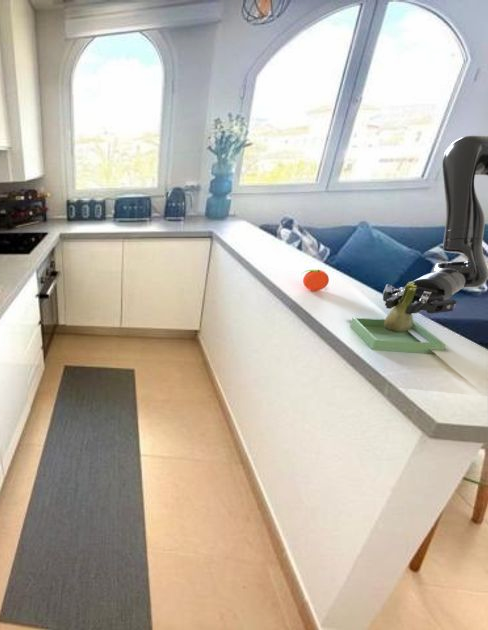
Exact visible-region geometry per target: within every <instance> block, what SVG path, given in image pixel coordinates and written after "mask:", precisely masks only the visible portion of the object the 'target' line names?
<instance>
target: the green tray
mask: <svg viewBox="0 0 488 630" xmlns="http://www.w3.org/2000/svg"><path fill="white" fill-rule="evenodd" d="M385 319H386V318H373V317H371V318H370V317H355V316H353V317H352V319H351V320H350V323H349V327H350V328H351V329H352V330H353V331H354V332H355V334H357V336H358V337H359V338H361V340H362V341H363V342H364V343H365V344H366V345H367V346H368V348H370V349H371V350H373V351H387V352H399V353H400V352H402V353H415V354H427V353H428V354H427V355H436V353H435V351H433V350H439V351H444V350H445V347H446V346H447V344H446V343H444V342H443V341H442V340H440V339H439V338H438V337H436V336H435V335H434V334H433V333H431V332H430V331H429V330H428V329H425V328H424V327H423V326H421V325H420V324H419V323H418V322H417V321H415V320H413V325H412V327H411V329H413V330H414V331H416V333H419V334H420V335H421V337H423V338H425V339H426V340H427V341H428V342H427V341H425V342H423V341H421V340H420V339H418V338H417V337H416V336H414V335H413V334H412V333H411V332H410V331H407V332H401V333H395V332H392V331H389V330H387V329H386V328H385V327H384V323H385Z"/></svg>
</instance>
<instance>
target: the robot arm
mask: <svg viewBox="0 0 488 630" xmlns="http://www.w3.org/2000/svg"><path fill="white" fill-rule="evenodd" d="M442 157H443V158H442V176H443V189H444V198H445V207H446V208H445V211H446V212H445V213H446V214H445V227H444V234H443V241H442V242H443V243H442V250H443V251H444V252H446V253H448V254H459V255H460V254H461V255H464V256H465V257H466V260H465V261H464V260H463V261H461V260H460V261H443V262H438V263H435V264H434V265H433V266H432V268H431V270H430V273H426V274H424V275H422V276H420V277H418V278H416V279H415V280H411V282H413V283H415V284H414V285H416V286H417V288H416V292H415V295H414V298H413V300H412V303H411V305H409V307H408V310H407V312H406V314H412V315H413V314H417V313H419V312H423V311H426V313H427V314H440V313H447V312H453V311H454V309H455V308H456V305H457V303H458V300H456V299H451V298H452V297H453V296H454V295H455V294H456V293H457V292H459V291H460V290H462V289H463V288H479V287H481V286H483V285H484V284H485V283H486V282H487V281H488V265H487V262H486V259H485V254H484V249H483V240H484V233H485V227H486V225H485V224H486V218H485V217H486V216H485V214H484V213H485V212H484V210H483V207H482V204H481V203H480V200H479V199H478V198H479V197H478V195H477V193H476V188H475V187H476V186H475V178H476V177H475V176H487V177H488V135H467V136H463V137H460V138H458V139H456V140H455V141H453V142H452V143H451V144H450V145H449V146H448V147H447V149H446V150H445V152H444V155H443V156H442ZM404 290H405V286H401V287H398V288H395V286H393V285H392V284H385V286H384V288H383V291H382V301H383V302H385V303H384V306H385V308H386V309H388V310H392V309H393V308H394V307H395V306H396V305H397V304H398V302H399V301H400V299H401V298H402V295H403V293H404Z"/></svg>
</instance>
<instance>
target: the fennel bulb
mask: <svg viewBox="0 0 488 630" xmlns="http://www.w3.org/2000/svg"><path fill="white" fill-rule="evenodd" d="M414 284H415V283H413V282H412V281H408V282H407V283H406V285H405V286H404V287H405V290H404V293H403V295H402V298H401V299H400V301H399V302H398V304H397V305H396V306H394V307H393V308H391V309H390V311H389V313H388V315H387V316H386V317H385V318H384V319H385V323H384V327H385V328H386V329H387V330H389V331H392V332H395V333H401V332H407V331H408V332H410V330H411V329H412V325H413V321H414V319H413V313H412V314H406V312H407V310H408V307H409V305H411V303H412V300H413V298H414V295H415V292H416V288H417V286H416V285H414Z"/></svg>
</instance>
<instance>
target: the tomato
mask: <svg viewBox="0 0 488 630" xmlns="http://www.w3.org/2000/svg"><path fill="white" fill-rule="evenodd" d="M306 272H307V273H306ZM304 273H305V275H304V276H303V279H302V283H303V285H304V287H305V289H307V290H309V291H313V292H318V291H321V290H324V289H325V288H326V287H327V286H328V284H329V281H330V278H329V275H328V274H327V273H326V271H324V270H322V269H308V270H304V271H303V272H302V274H304Z"/></svg>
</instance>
